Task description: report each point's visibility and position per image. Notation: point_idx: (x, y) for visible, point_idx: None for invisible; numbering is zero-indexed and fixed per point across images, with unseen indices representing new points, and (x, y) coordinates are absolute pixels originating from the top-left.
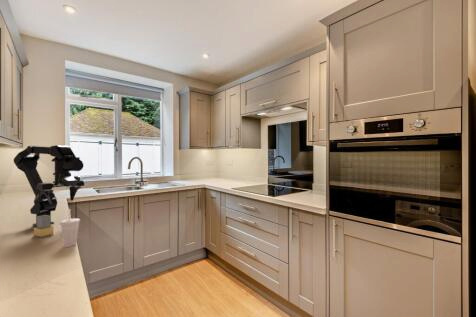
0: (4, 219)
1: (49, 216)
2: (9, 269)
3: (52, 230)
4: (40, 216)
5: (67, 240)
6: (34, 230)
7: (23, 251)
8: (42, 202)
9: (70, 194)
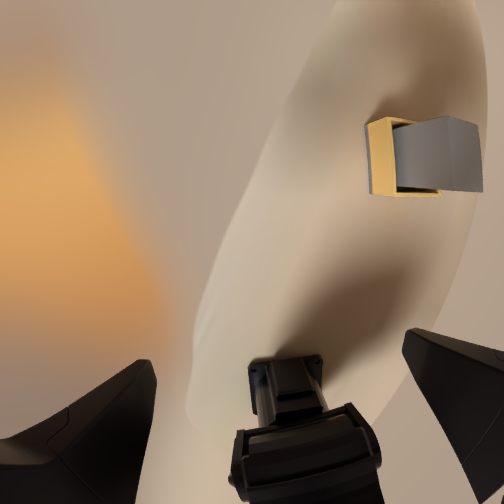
0: None
1: (446, 116)
2: (472, 5)
3: (379, 121)
4: (477, 160)
5: None
6: (432, 189)
7: (461, 55)
8: (371, 450)
9: (137, 459)
